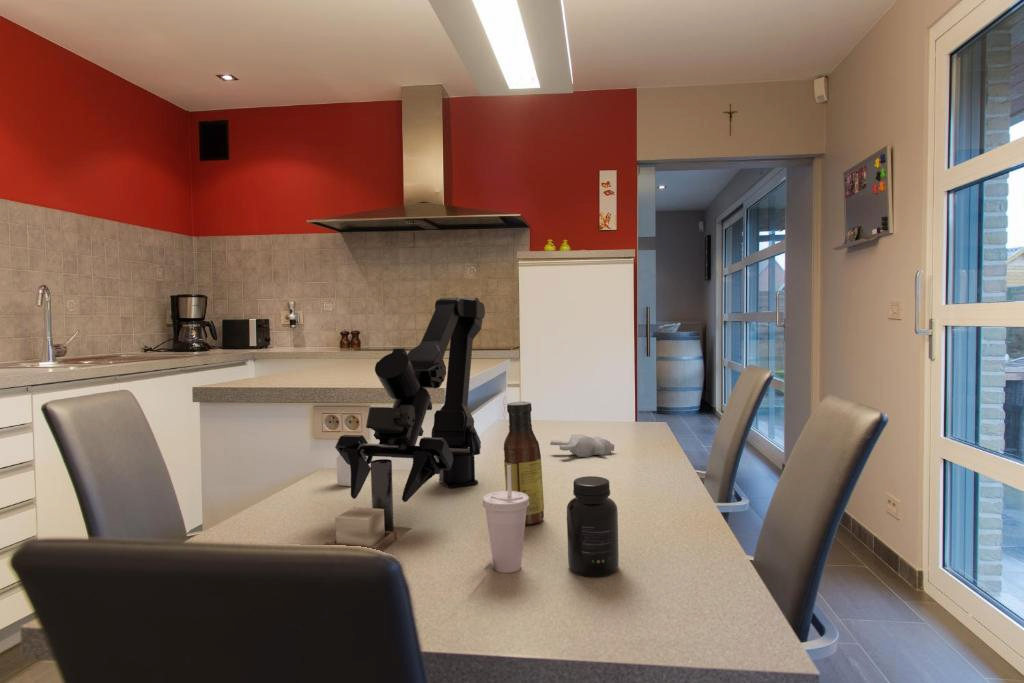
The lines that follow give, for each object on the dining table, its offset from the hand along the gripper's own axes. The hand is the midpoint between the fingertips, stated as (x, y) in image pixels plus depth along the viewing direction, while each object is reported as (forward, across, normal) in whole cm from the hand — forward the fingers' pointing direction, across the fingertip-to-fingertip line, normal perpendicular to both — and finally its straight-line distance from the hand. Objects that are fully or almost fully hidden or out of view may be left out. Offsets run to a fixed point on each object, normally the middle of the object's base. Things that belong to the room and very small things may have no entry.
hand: (378, 499), depth 95 cm
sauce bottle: (-5, +20, +15) cm, 25 cm away
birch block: (+8, 0, 0) cm, 8 cm away
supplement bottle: (+7, +33, +3) cm, 34 cm away
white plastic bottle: (-16, -22, +26) cm, 37 cm away
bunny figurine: (-40, +21, +50) cm, 68 cm away
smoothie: (+8, +22, +1) cm, 24 cm away
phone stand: (+6, 0, +3) cm, 7 cm away
